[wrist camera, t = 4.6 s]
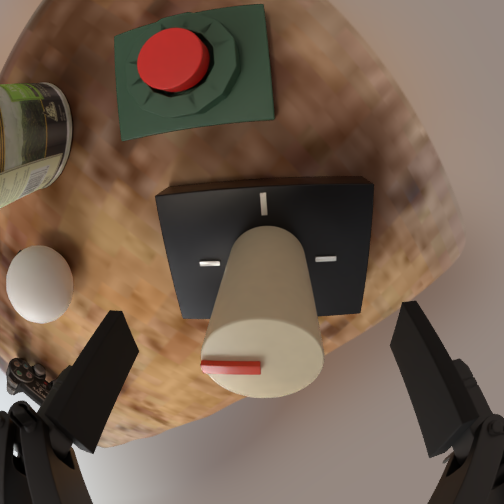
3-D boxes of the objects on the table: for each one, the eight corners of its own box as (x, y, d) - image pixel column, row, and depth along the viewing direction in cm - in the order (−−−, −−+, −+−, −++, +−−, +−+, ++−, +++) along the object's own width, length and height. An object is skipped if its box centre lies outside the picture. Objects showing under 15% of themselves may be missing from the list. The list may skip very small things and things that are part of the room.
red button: (207, 30, 12) (200, 20, 10) (212, 86, 13) (205, 82, 11) (148, 44, 12) (135, 37, 10) (151, 97, 13) (138, 96, 12)
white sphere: (47, 217, 21) (-4, 250, 15) (97, 269, 23) (54, 316, 17) (26, 274, 25) (-12, 309, 18) (67, 317, 27) (34, 359, 20)
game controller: (94, 393, 38) (80, 426, 29) (81, 413, 38) (67, 446, 28) (23, 336, 34) (-4, 357, 25) (14, 360, 34) (-11, 383, 24)
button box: (264, 15, 13) (262, -9, 10) (274, 120, 17) (275, 118, 13) (128, 42, 14) (100, 30, 11) (135, 138, 18) (107, 144, 14)
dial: (305, 223, 17) (331, 320, 9) (304, 290, 19) (319, 401, 11) (225, 227, 18) (186, 323, 9) (234, 293, 20) (211, 402, 12)
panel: (362, 176, 18) (375, 184, 16) (353, 295, 22) (361, 314, 20) (167, 187, 19) (153, 196, 17) (190, 301, 24) (182, 320, 21)
